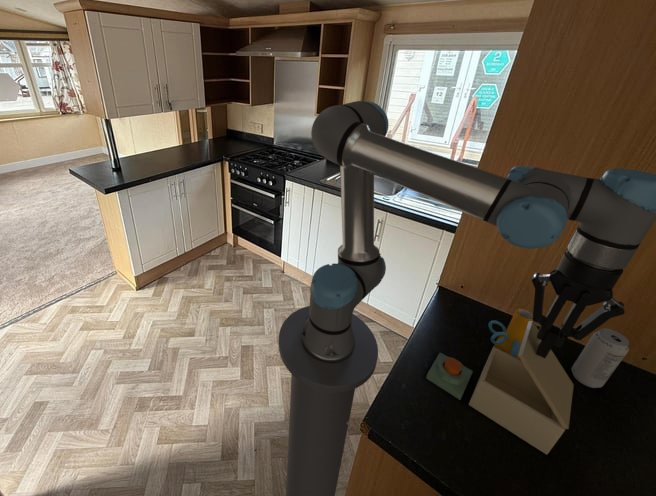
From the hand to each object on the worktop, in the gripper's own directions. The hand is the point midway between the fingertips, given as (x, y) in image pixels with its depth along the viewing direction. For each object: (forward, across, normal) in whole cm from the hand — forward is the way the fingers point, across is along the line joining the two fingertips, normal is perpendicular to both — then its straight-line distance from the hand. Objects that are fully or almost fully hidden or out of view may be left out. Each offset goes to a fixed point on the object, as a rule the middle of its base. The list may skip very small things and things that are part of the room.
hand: (541, 352), depth 64 cm
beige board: (+4, -2, 0) cm, 4 cm away
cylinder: (+19, +4, -16) cm, 25 cm away
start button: (+16, +13, +2) cm, 20 cm away
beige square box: (+19, 0, 0) cm, 19 cm away
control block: (+19, +13, +2) cm, 23 cm away
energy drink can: (+19, -12, -22) cm, 31 cm away
